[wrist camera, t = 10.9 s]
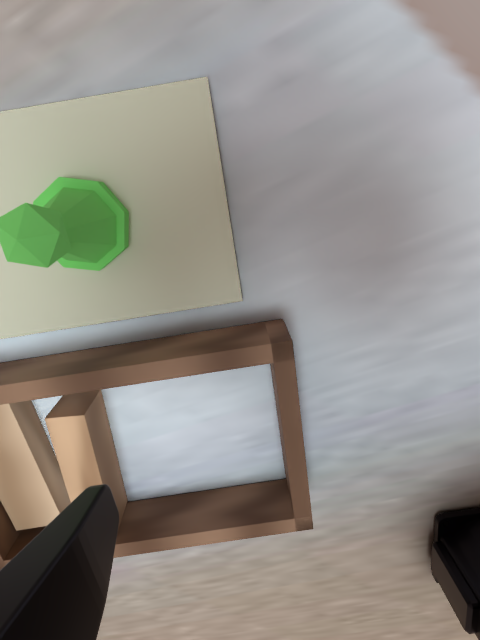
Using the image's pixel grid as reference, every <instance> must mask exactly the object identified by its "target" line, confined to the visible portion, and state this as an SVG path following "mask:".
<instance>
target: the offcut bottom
mask: <svg viewBox="0 0 480 640" xmlns="http://www.w3.org/2000/svg"><path fill="white" fill-rule="evenodd" d="M0 501H1V503H2V504H3V506H4V508H5V510H6V512H7V514H8V516H9V518H10V519H11V521H12V523H13V525H14V527H15V529H16V531H18V530H24V529H30V528H36V527H43V526H47V525H48V524H49V523H50V522H51V521H52V520H54V519H55V518H56V517H57V516H58V515H59V514H60V513H61V512H62V511H63V510H64V509H65V508H66V507H67V506H68V505H69V504H70V503H71V502H70V499H69V495H68V492H67V489H66V486H65V482H64V479H63V476H62V473H61V470H60V466H59V463H58V461H57V458H56V456H55V454H54V451H53V449H52V447H51V445H50V442H49V440H48V438H47V435H46V433H45V431H44V429H43V426H42V424H41V422H40V419H39V417H38V415H37V413H36V410H35V408H34V406H33V403H32V401H31V400H29V401H22V402H16V403H9V404H3V405H0Z"/></svg>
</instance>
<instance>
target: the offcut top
mask: <svg viewBox="0 0 480 640" xmlns="http://www.w3.org/2000/svg"><path fill="white" fill-rule="evenodd" d="M45 421H46V425H47V428H48V431H49V434H50V437H51V441H52V444H53V447H54V450H55V454H56V457H57V460H58V463H59V466H60V470H61V473H62V476H63V479H64V482H65V486H66V489H67V492H68V495H69V499H70V502H72V501H73V500H75V499H76V498H77V497H78V496H79V495H80V494H81V493H82V492H83V491H84V490H85V489H86V488H88V487H90V486H94V485H101V484H107V485H108V486H109V487H110V489H111V491H112V494H113V497H114V500H115V503H116V505H117V508H118V511H119V527H120V523H121V520H122V517H123V514H124V511H125V508H126V504H127V501H128V500H127V496H126V492H125V487H124V483H123V479H122V475H121V471H120V467H119V462H118V458H117V454H116V450H115V446H114V442H113V438H112V433H111V429H110V425H109V421H108V417H107V413H106V408H105V404H104V400H103V396H102V392H101V389H100V390H94V391H87V392H81V393H74V394H68V395H63V396H62V398H61V399H60V400H59V401H58V403H57V404H56V405H55V406H54V408H53V409H52V410H51V411H50V413H49V414H48V415H47V416H46V418H45ZM119 527H118V530H119Z"/></svg>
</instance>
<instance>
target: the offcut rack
mask: <svg viewBox="0 0 480 640" xmlns="http://www.w3.org/2000/svg"><path fill="white" fill-rule="evenodd" d="M269 363H270V365H271V372H272V379H273V387H274V394H275V401H276V408H277V416H278V423H279V430H280V437H281V445H282V452H283V459H284V466H285V474H286V479H281V480H274V481H267V482H261V483H254V484H247V485H240V486H233V487H227V488H220V489H213V490H206V491H200V492H193V493H186V494H179V495H172V496H166V497H159V498H152V499H145V500H139V501H132V502H127V504H126V508H125V511H124V514H123V517H122V520H121V523H120V527H119V530H118V533H117V539H116V545H115V551H114V557H113V558H116V557H123V556H130V555H136V554H143V553H150V552H157V551H164V550H171V549H178V548H185V547H192V546H199V545H206V544H212V543H219V542H226V541H233V540H240V539H247V538H254V537H261V536H268V535H275V534H282V533H288V532H295V531H302V530H309V529H313V521H312V512H311V503H310V495H309V486H308V477H307V468H306V459H305V450H304V441H303V432H302V423H301V414H300V405H299V396H298V387H297V378H296V369H295V360H294V351H293V342H292V339H291V336H290V334H289V332H288V330H287V327H286V325H285V323H284V321H283V319H278V320H272V321H266V322H259V323H253V324H246V325H240V326H234V327H227V328H221V329H214V330H208V331H202V332H195V333H189V334H182V335H176V336H169V337H163V338H157V339H150V340H144V341H137V342H131V343H125V344H118V345H112V346H105V347H99V348H92V349H86V350H80V351H73V352H67V353H60V354H54V355H48V356H41V357H35V358H28V359H22V360H15V361H9V362H3V363H0V405H3V404H9V403H16V402H22V401H29V400H35V399H42V398H48V397H55V396H61V395H68V394H74V393H81V392H87V391H94V390H100V389H107V388H113V387H120V386H126V385H133V384H139V383H146V382H152V381H159V380H165V379H172V378H178V377H185V376H191V375H198V374H204V373H211V372H217V371H224V370H230V369H237V368H243V367H250V366H256V365H263V364H269ZM45 527H46V526H43V527H36V528H30V529H24V530H18V531H16V529H15V527H14V525H13V523H12V521H11V519H10V518H9V516H8V514H7V512H6V510H5V508H4V506H3V504H2V503H1V501H0V570H1V569H2V568H3V567H4V566H5V565H6V564H7V563H8V562H9V561H10V560H12V559H13V558H14V557H15V556H16V555H17V554H18V553H19V552H20V551H21V550H22V549H23V548H24V547H25V546H26V545H27V544H28V543H29V542H30V541H31V540H33V539H34V538H35V537H36V536H37V535H38V534H39V533H40V532H41V531H42V530H43V529H44V528H45Z"/></svg>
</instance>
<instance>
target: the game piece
mask: <svg viewBox="0 0 480 640" xmlns="http://www.w3.org/2000/svg"><path fill="white" fill-rule="evenodd" d="M0 244H1V246H2V249H3V252H4V254H5V257H6V260H7V262H14V263H20V264H26V265H32V266H39V267H45V268H48V267H49V266H51V265H52V264H53V263H55V262H56V261H58V262H59V263H60V264H61V265H62V266H63V267H65V268H75V269H85V270H95V271H100V270H102V269H103V268H105V267H106V266H107V265H108V264H109V263H110V262H112V261H113V260H114V259H115V258H116V257H117V256H118V255H120V254H121V253H122V252H123V251H124V250H125V249H126V248H128V247H129V211H128V210H127V209H126V208H125V206H124V205H123V204H122V203H121V202H120V201H119V199H118V198H117V197H116V196H115V195H114V194H113V193H112V191H111V190H110V189H109V188H108V187H107V186H106V185H105V183H104V182H100V181H91V180H83V179H75V178H66V177H58V178H57V179H56V180H55V181H54V182H53V183H52V184H51V185H50V186H49V187H48V188H47V189H46V190H45V191H44V192H42V193H41V194H40V195H39V196H38V197H37V198H36V199H35V200H34V201H33V204H29V203H24V204H22V205H20V206H18V207H17V208H15V209H13V210H11V211H10V212H8V213H6V214H4V215H3V216H1V217H0Z"/></svg>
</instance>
